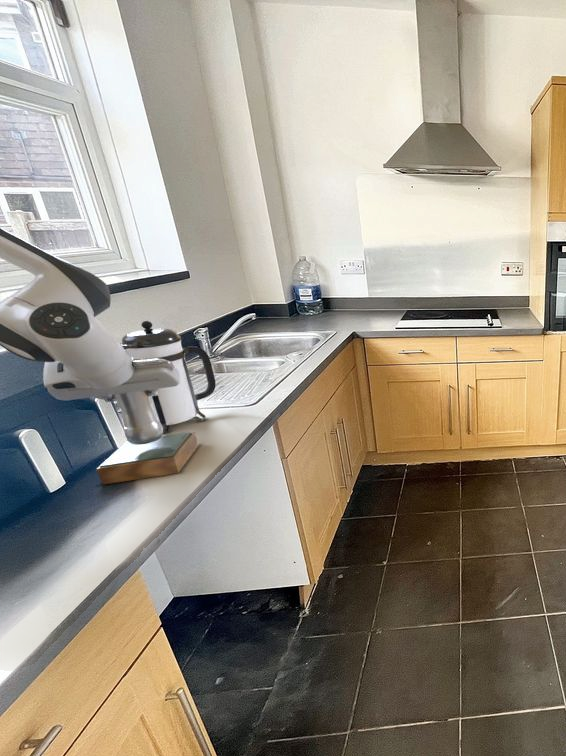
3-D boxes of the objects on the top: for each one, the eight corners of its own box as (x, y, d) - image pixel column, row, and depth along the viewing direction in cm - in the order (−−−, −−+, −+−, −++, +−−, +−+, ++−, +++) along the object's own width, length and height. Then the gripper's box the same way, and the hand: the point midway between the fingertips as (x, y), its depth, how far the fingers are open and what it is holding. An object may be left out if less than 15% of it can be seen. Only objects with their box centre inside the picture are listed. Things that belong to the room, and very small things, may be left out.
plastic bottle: (164, 443, 96) (140, 360, 90) (126, 451, 93) (97, 365, 86) (166, 433, 101) (143, 354, 95) (130, 440, 98) (103, 358, 91)
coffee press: (196, 431, 116) (166, 325, 106) (129, 436, 112) (92, 327, 102) (223, 407, 132) (199, 313, 121) (166, 411, 128) (136, 315, 118)
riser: (102, 484, 91) (95, 467, 89) (131, 455, 103) (126, 439, 102) (178, 472, 95) (173, 456, 94) (198, 445, 108) (194, 430, 106)
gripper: (168, 346, 88) (188, 377, 100) (34, 358, 79) (73, 391, 90) (169, 371, 86) (189, 400, 97) (31, 387, 77) (72, 417, 88)
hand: (132, 396), depth 94 cm, fingers closed on plastic bottle, 6 cm apart
